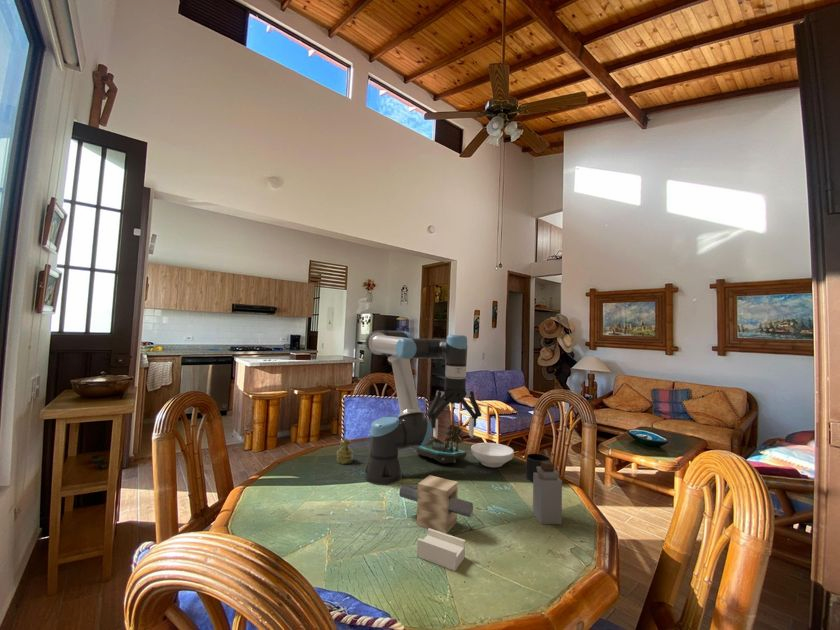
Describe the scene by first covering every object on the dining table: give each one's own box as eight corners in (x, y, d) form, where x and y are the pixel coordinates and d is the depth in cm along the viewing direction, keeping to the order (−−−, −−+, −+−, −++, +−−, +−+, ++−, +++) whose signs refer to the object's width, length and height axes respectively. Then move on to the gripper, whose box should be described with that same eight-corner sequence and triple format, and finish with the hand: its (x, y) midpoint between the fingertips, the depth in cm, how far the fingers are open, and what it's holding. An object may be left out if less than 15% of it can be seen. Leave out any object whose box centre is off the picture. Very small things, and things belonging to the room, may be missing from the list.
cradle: (416, 556, 95) (417, 539, 95) (428, 544, 101) (429, 528, 101) (454, 571, 90) (455, 552, 90) (465, 557, 95) (465, 540, 96)
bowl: (488, 475, 152) (488, 458, 153) (462, 460, 170) (462, 445, 170) (522, 468, 161) (523, 452, 162) (494, 455, 179) (495, 440, 179)
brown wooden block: (416, 524, 111) (417, 483, 112) (428, 513, 118) (429, 475, 119) (445, 534, 106) (447, 491, 107) (456, 522, 113) (457, 482, 114)
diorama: (449, 469, 157) (452, 424, 159) (406, 456, 173) (410, 415, 175) (471, 462, 171) (474, 421, 174) (430, 451, 187) (433, 413, 190)
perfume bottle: (532, 513, 120) (533, 459, 121) (552, 513, 121) (552, 459, 122) (541, 524, 114) (541, 466, 115) (561, 523, 114) (562, 466, 115)
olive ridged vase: (332, 462, 162) (333, 440, 162) (342, 457, 168) (343, 436, 169) (346, 465, 159) (347, 442, 159) (355, 460, 166) (356, 438, 166)
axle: (399, 498, 117) (399, 485, 117) (405, 495, 120) (406, 482, 121) (467, 519, 105) (468, 504, 106) (472, 514, 109) (473, 500, 109)
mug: (547, 488, 141) (548, 464, 142) (521, 478, 151) (522, 456, 151) (560, 482, 148) (560, 459, 148) (534, 473, 157) (534, 452, 157)
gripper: (425, 378, 124) (422, 440, 123) (491, 379, 129) (489, 438, 129) (419, 375, 131) (417, 434, 130) (483, 376, 137) (481, 432, 136)
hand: (453, 436), depth 129 cm, fingers open, 13 cm apart
